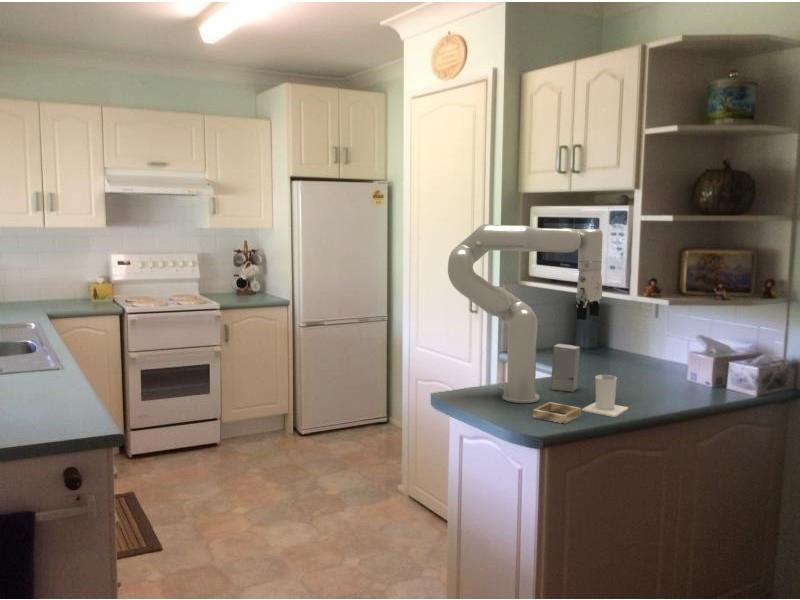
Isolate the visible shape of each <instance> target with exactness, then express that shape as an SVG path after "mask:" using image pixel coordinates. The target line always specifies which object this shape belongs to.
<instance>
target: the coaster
mask: <svg viewBox="0 0 800 600" xmlns="http://www.w3.org/2000/svg"><path fill="white" fill-rule="evenodd" d="M628 410H629V406H623V405H618V404H615V405H614V409H612V410H602V409H598V408H596V401H595V402H593V403H591V404H589V405H587V406H585V407H583V408H581V412H586V413H589V414H590V413H591V414H596V415H601V416H606V417H612V418H616V417H618V416H620V415H621V414H623V413H625V412H626V411H628Z"/></svg>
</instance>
